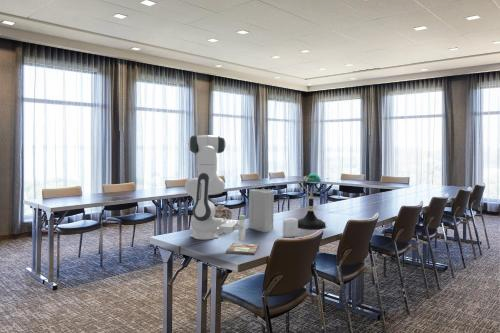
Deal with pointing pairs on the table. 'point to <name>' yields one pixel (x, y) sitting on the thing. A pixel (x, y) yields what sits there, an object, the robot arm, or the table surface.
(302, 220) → the banker's lamp
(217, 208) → the decorative jar
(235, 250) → the picture board
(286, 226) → the photo printer
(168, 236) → the table surface
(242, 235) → the marker
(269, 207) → the paper bag
